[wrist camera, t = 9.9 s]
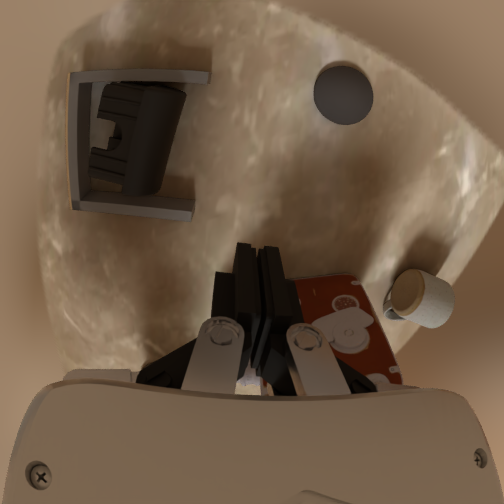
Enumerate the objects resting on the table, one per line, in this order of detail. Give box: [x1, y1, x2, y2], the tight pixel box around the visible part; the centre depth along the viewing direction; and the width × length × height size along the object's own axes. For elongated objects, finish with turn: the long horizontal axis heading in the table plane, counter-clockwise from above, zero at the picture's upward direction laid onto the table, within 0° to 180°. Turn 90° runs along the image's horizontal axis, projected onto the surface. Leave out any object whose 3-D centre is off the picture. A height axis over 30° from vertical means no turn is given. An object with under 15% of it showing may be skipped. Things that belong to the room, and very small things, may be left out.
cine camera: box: [236, 274, 403, 396], centre depth 33 cm, size 9×19×20 cm, turn 95°
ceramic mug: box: [383, 269, 455, 328], centre depth 39 cm, size 11×8×8 cm
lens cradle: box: [65, 69, 212, 222], centre depth 27 cm, size 15×14×3 cm
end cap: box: [88, 81, 187, 197], centre depth 25 cm, size 10×7×7 cm
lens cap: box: [314, 66, 373, 125], centre depth 27 cm, size 6×6×1 cm
